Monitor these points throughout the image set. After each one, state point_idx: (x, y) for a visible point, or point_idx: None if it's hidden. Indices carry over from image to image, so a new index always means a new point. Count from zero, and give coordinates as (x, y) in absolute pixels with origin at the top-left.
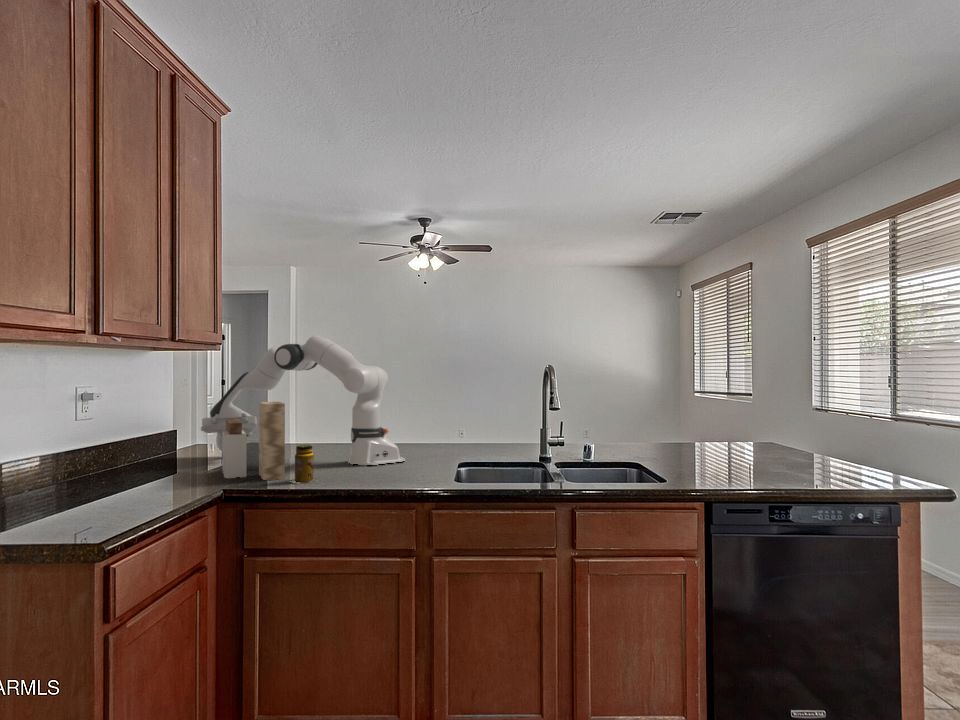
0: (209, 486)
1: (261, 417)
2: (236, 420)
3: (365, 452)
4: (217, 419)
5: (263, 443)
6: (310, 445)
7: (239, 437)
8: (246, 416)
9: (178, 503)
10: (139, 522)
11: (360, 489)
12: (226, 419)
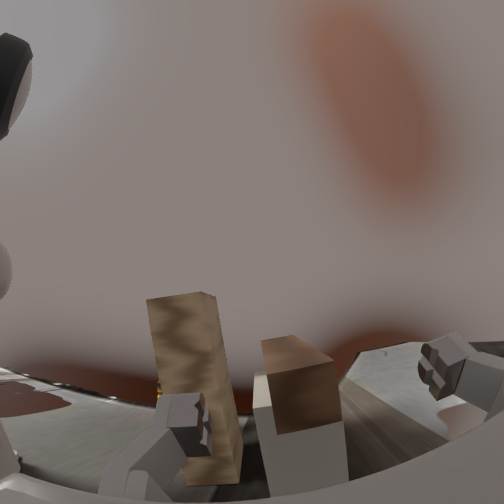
0: None
1: (215, 329)
2: (273, 350)
3: (6, 436)
4: (447, 388)
5: (229, 377)
6: (158, 381)
7: None
8: (138, 451)
9: (349, 383)
10: (357, 363)
11: (154, 407)
12: (322, 353)
